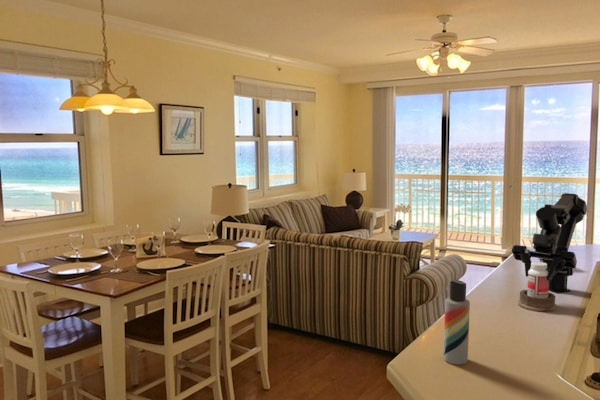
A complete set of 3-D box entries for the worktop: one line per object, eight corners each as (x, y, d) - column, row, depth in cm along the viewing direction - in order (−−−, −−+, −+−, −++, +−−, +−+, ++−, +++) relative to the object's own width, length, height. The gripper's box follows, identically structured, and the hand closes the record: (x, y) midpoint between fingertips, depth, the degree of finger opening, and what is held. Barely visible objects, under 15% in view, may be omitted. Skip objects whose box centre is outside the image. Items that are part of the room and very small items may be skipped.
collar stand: (537, 299, 168) (538, 287, 168) (563, 309, 158) (564, 297, 157) (510, 302, 165) (511, 290, 165) (535, 313, 155) (536, 301, 154)
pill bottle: (549, 295, 162) (551, 262, 160) (546, 301, 157) (547, 266, 156) (529, 292, 166) (530, 260, 164) (525, 297, 161) (526, 264, 159)
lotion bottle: (440, 355, 125) (442, 277, 122) (462, 354, 125) (464, 277, 123) (448, 365, 119) (451, 284, 117) (471, 364, 119) (474, 283, 117)
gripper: (514, 221, 167) (501, 259, 161) (576, 227, 155) (565, 269, 148) (521, 240, 174) (509, 277, 167) (581, 247, 162) (570, 288, 155)
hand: (537, 277), depth 159 cm, fingers closed on pill bottle, 6 cm apart
